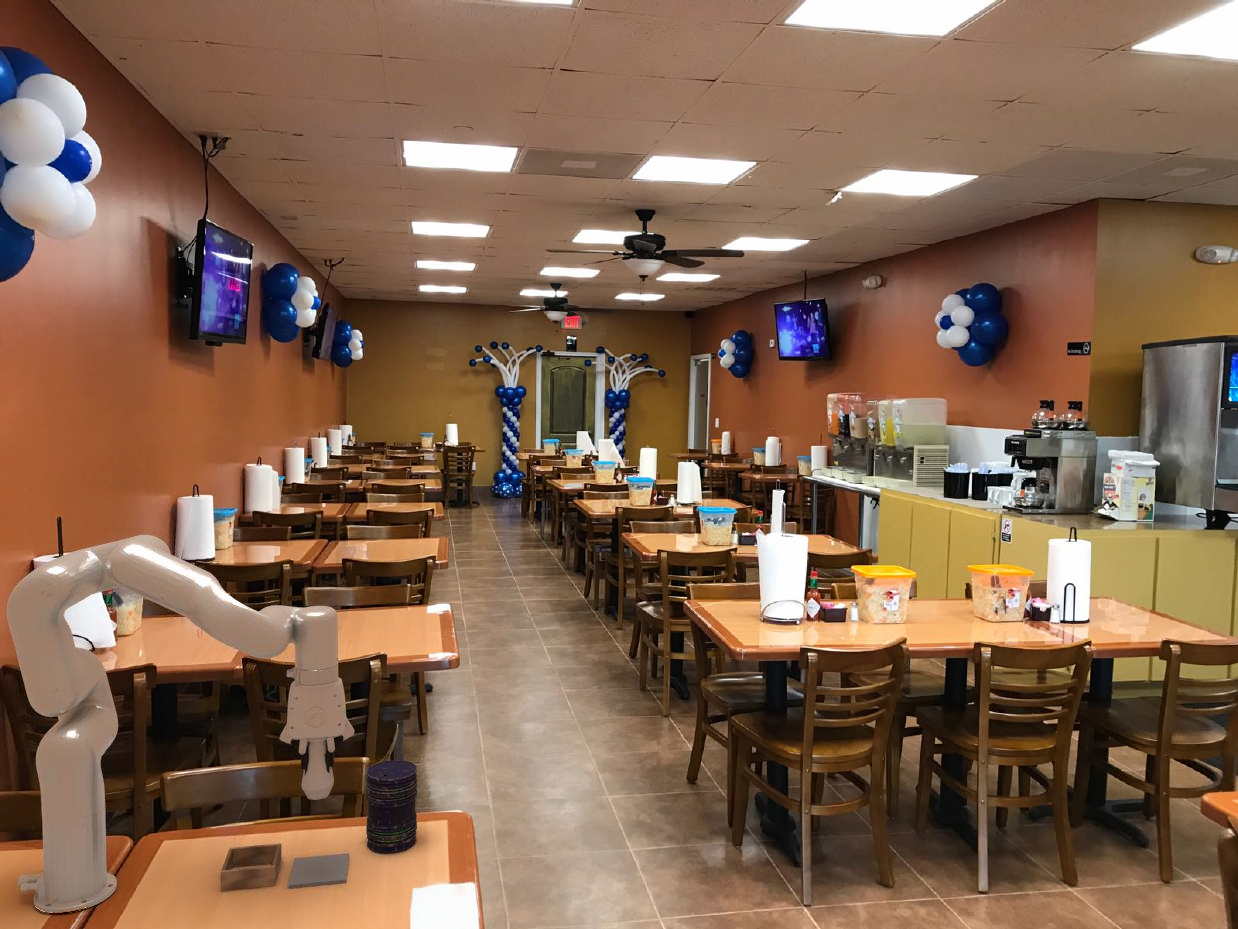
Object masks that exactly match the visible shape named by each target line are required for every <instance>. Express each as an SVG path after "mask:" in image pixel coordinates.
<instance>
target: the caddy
mask: <svg viewBox="0 0 1238 929" xmlns="http://www.w3.org/2000/svg"><path fill="white" fill-rule="evenodd" d="M282 857H283V856H282V842H279V843H268V844H266V843H265V844H259V845H258V844H257V845H255V844H254V845H248V846H247V845H245V846H235V847H234V846H233V847H229V849H228V852H227V855H226V856H225V859H224V862H223V865H222V867H221V870H220V877H219V879H220V880H219V882H220V892H226V891H227V892H228V891H236V890H237V891H239V890H245V889H246V890H247V889H259V888H267V887H275V886H276V884H277V881H276V880H278V876H279V873H280V872H279V871H280V869H281V868H280V867H281V865H282ZM267 863H270V864H272V865H269V866H259V865H268V864H267ZM247 866H256V867H247ZM257 866H258V867H257ZM237 867H243V868H237ZM244 867H245V868H244ZM233 868H234V869H233Z"/></svg>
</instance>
